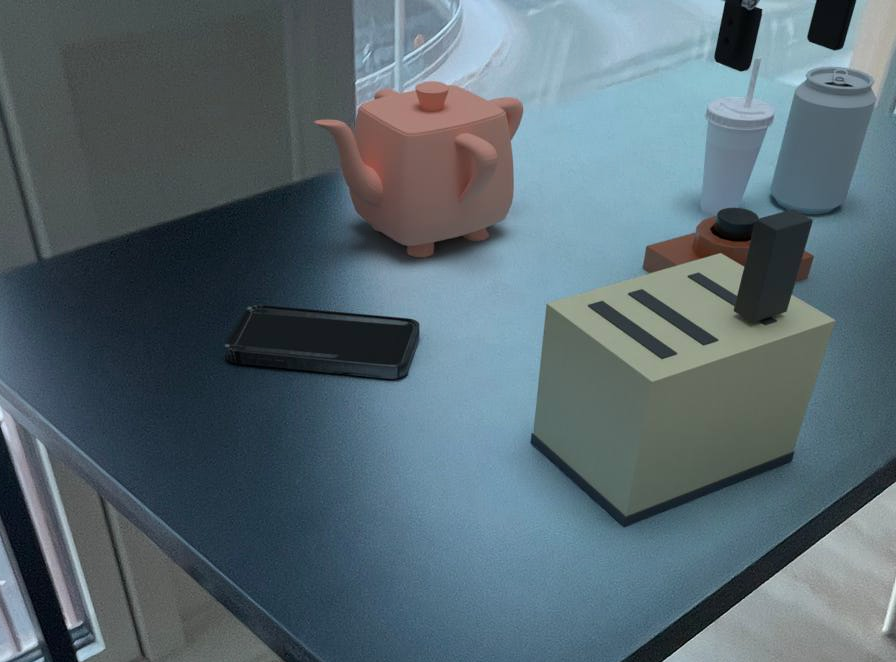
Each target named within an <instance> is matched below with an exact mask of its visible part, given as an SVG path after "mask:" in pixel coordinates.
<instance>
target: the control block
mask: <svg viewBox="0 0 896 662" xmlns="http://www.w3.org/2000/svg"><path fill="white" fill-rule="evenodd" d="M716 217H717V216H711V217H709V218H704V219H702V220H701V221H700V222H699V223H698V225H696V227H695V232H692V233H689V234H684V235H681V236H677V237H674V238H670V239H667V240H663V241H660V242H656V243H652V244H648V245H646V246H645V251H644V257H643V262H642V263H643V264H642V269H643V270H644V271H646V272H647V273H648V274H650V273H653V272H657V271H660V270H664V269H667V268H671V267H674V266H677V265H681V264H684V263H688V262H691V261H695V260H698V259H702V258H705V257H709V256H712V255H716V254H719V253H721V254H723V255H725V256H727V257H728V258H730V259H732V260H733V261H735V262H737V263H739V264H740V265H742V266H745V262H746V258H747V254H748V250H749V246H750V242H751V240H750V241H746V242H733V241H729V240H724V239H721V238H719V237H717V236H715V235H714V234H713V230H714V226H715V221H716ZM814 258H815V255H814V254H812V253H810V252H808V251H806V250H804V254H803V257H802V260H801V264H800V267H799V271H798V274H797V278H796V281H795V283H797V282H800V281H801V282H802V281H804V280H807V279H808V278H809V276H810V272H811V268H812V265H813V261H814Z"/></svg>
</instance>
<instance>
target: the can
mask: <svg viewBox="0 0 896 662" xmlns="http://www.w3.org/2000/svg"><path fill="white" fill-rule="evenodd" d="M805 78H806V79H805V80H804V81H802V82H801V83H800V84H799V85H798V86H797V87H796V88H795V90H794V93H793V97H792V100H791V105H790V109H789V113H788V118H787V121H786V125H785V129H784V133H783V137H782V141H781V145H780V148H779V152H778V157H777V161H776V165H775V168H774V172H773V176H772V180H771V181H772V182H771V184H770V194H771V195H772V197H773V198H774V199H775V201H776V203H777V204H778V205H779V206H780V207H781V208H783V209H785V210H786V211H788V210H791V209H793V210H795V211H797V212H799V213H801V214H803V215H822V214H827V213H830V212H832V211H834V209H835V208H837V207H839V206H841V205H842V204H844V203H845V202H846V199H847V197H848V193H849V190H850V187H851V183H852V179H853V178H854V177H853V176H854V173H855V171H856V167H857V164H858V162H859V161H858V160H859V157H860V154H861V151H862V148H863V144H864V141H865V137H866V135H867V131H868V128H869V124H870V121H871V118H872V114H873V111H874V108H875V106H876V105H875V104H876V101H877V97H876V95H875V92H874V90H873V88H872V87H873V86H874V84H875V82H876V81H875V79H874V77H873V76H872V75H871V74H869V73H868V72H864V71H862V70H859V69H855V68H850V67H843V66H820V67H815V68H812V69H810V70H808V71H807V72H806V74H805Z"/></svg>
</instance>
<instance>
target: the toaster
mask: <svg viewBox="0 0 896 662" xmlns="http://www.w3.org/2000/svg"><path fill="white" fill-rule="evenodd" d="M743 270H744V266H742V265H740V264H739V263H737V262H735V261H733V260H732V259H730V258H728V257H727V256H725V255H723V254H721V253H719V254H716V255H712V256H709V257H705V258H702V259H698V260H695V261H691V262H688V263H684V264H681V265H677V266H674V267H671V268H667V269H664V270H660V271H657V272H653V273H647V274H642V275H640V276H635V277H633V278H629V279H626V280H622V281H619V282H616V283H611V284H609V285H605V286H600V287H598V288H594V289H591V290H588V291H587V290H586V291H584V292H581V293H577V294H573V295H570V296H566V297H563V298H560V299H556V300H552V301H548V302H546V306H545V315H544V324H543V325H544V326H543V334H542V342H541V343H542V345H541V355H540V363H539V372H538V373H539V374H538V383H537V384H538V385H537V391H536V403H535V413H534V421H533V422H534V423H533V431H532V432H531V433H530V443H531V445H533V446H534V447H535V448H536V449H538V451H539V452H540V453H542V454H543V455H544V456H545V457H546V458H547V459H548V460H550V461H551V463H553V464H554V465H555V466H556V467H557V468H559V469H560V470H561V471H562V472H563V473H564V474H565V475H566V476H567V477H569V479H571V480H572V482H574V483H575V484H576V485H577V486H578V487H579V488H581V489H582V490H583V491H584V492H585V493H586V494H587V495H588V496H589V497H590V498H592V500H594V501H595V502H596V503H597V504H598V505H599V506H601V508H603V509H604V511H606V512H607V513H608V514H609V515H610V516H612V518H614V519H615V520H616V521H617V522H618V523H619V524H620V525H621V526H622V527H627V526H629V525H631V524H635V523H637V522H640V521H642V520H645V519H647V518H650V517H652V516H654V515H657V514H660V513H662V512H664V511H667V510H670V509H672V508H674V507H678V506H680V505H683V504H685V503H688V502H690V501H693V500H696V499H698V498H700V497H703V496H706V495H708V494H711V493H713V492H715V491H718V490H721V489H724V488H726V487H728V486H731V485H734V484H737V483H739V482H741V481H743V480H746V479H750V478H751V477H754V476H756V475H760V474H761V473H765V472H767V471H770V470H772V469H775V468H777V467H779V466H782V465H785V464H787V463H790V462H792V461H793V458H794V456H795V451H794V449H795V446H796V442H797V440H798V437H799V434H800V430H801V428H802V425H803V422H804V418H805V416H806V412H807V409H808V407H809V403H810V400H811V397H812V394H813V391H814V388H815V385H816V381H817V379H818V376H819V373H820V370H821V366H822V364H823V360H824V357H825V354H826V352H827V348H828V345H829V342H830V339H831V336H832V333H833V330H834V327H835V325H836V321H837V320H836V319H834V318H833V317H831V316H830V315H828V314H826V313H825V312H822V311H821V310H820V309H817V308H816V307H814V306H812V305H811V304H809V303H807V302H806V301H804V300H802V299H800V298H799V297H797V296H795V295H794V294H792V295H791V299H790V302H789V306H788V309H787V312H784V313H781V314H778V315H775V316H772V317H769V318H766V319H763V320H760V321H757V322H753V323H752V322H750V321H748V320H747V319H745V318H744V317H742V316H740V315H739V314H737V313H736V312H734V306H735V302H736V298H737V294H738V290H739V286H740V282H741V278H742V274H743Z"/></svg>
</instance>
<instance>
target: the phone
mask: <svg viewBox="0 0 896 662" xmlns="http://www.w3.org/2000/svg"><path fill="white" fill-rule="evenodd" d="M420 325H421V324H420V323H419V321H417V320H416V319H413V318H407V317H397V316H386V315H375V314H365V313H355V312H354V313H353V312H342V311H334V310H321V309H311V308H310V309H309V308H302V307H301V308H300V307H289V306H278V305H267V304H254V305H250V306H248V307H246V309H245V310H243V312H242V315H241V317H240V318H239V319H238V321H237V323H236V325H235V326H234V328H233V330H232V331H231V333H230V334H229V336H228V337H227V339H226V341H225V343H224V349H225V356H226V359H227V360H228V361H229V362H230V363H232V364H239V365H246V366H247V365H248V366H256V367H257V366H258V367H267V368H278V369H287V370H298V371H307V372H316V373H317V372H318V373H319V372H320V373H328V374H339V375H347V376H358V377H360V376H361V377H368V378H378V379H388V380H396V379H401V378H404V377H405V376H406V375H407V374H408V372H409V370H410V368H411V364H412V361H413V359H414V355H415V352H416V349H417V346H418V344H419V341H420V336H421V335H420V333H421V332H420V331H421V330H420V329H421V328H420Z"/></svg>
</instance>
